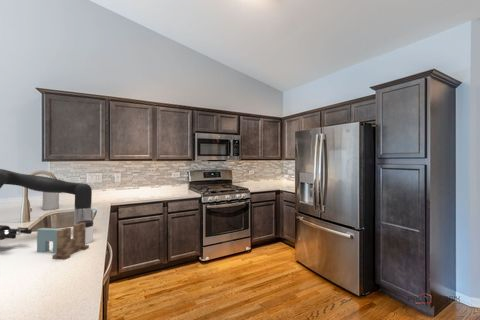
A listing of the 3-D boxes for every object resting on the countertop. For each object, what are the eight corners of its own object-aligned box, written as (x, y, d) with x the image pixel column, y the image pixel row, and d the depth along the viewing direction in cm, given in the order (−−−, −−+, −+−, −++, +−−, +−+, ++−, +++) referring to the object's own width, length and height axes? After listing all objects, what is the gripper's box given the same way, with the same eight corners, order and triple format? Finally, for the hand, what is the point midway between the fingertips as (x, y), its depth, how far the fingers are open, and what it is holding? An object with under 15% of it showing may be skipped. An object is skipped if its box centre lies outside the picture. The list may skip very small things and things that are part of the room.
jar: (96, 239, 149) (96, 220, 149) (88, 244, 141) (88, 223, 141) (82, 239, 149) (82, 219, 149) (72, 243, 141) (73, 223, 141)
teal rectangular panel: (36, 251, 128) (37, 229, 128) (41, 250, 131) (41, 227, 131) (61, 253, 127) (61, 230, 127) (64, 251, 129) (65, 229, 129)
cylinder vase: (54, 210, 230) (55, 184, 230) (39, 210, 227) (40, 184, 227) (61, 207, 242) (61, 182, 242) (46, 207, 239) (47, 182, 239)
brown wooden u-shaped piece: (77, 247, 136) (77, 222, 136) (88, 247, 135) (89, 222, 135) (52, 258, 120) (52, 230, 120) (65, 259, 119) (65, 231, 119)
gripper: (-19, 228, 125) (9, 230, 123) (10, 222, 139) (36, 223, 137) (-19, 243, 125) (9, 245, 123) (10, 235, 139) (35, 236, 137)
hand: (23, 234), depth 130 cm, fingers open, 8 cm apart
